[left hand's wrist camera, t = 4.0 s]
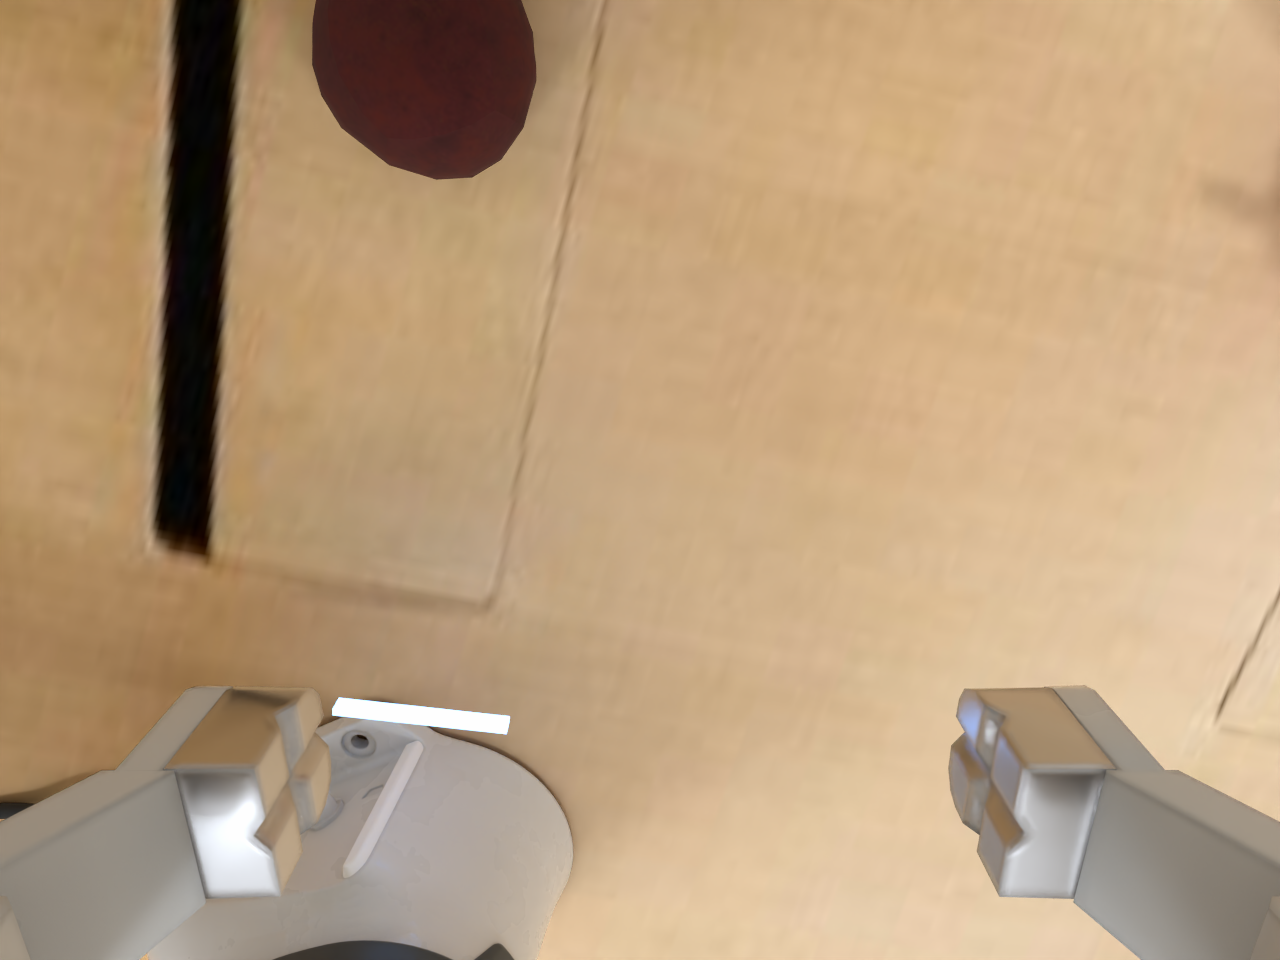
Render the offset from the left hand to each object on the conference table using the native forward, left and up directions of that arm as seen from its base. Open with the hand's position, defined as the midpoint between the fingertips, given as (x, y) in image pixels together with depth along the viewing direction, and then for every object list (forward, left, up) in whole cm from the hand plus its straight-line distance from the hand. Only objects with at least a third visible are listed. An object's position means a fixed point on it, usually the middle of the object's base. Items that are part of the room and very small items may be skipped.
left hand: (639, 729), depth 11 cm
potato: (-4, +12, -26) cm, 28 cm away
